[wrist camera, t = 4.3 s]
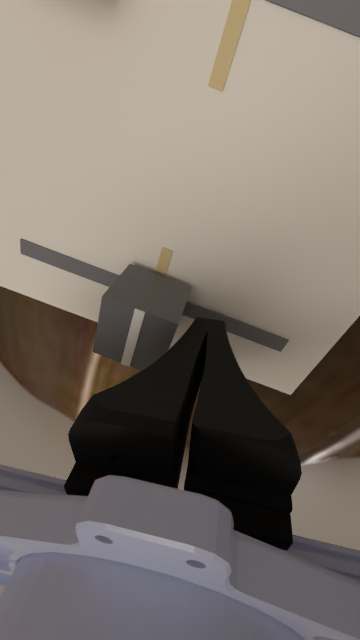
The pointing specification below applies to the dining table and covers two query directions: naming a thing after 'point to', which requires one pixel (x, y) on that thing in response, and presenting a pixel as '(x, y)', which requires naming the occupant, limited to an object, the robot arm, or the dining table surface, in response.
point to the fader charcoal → (139, 317)
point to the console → (188, 163)
